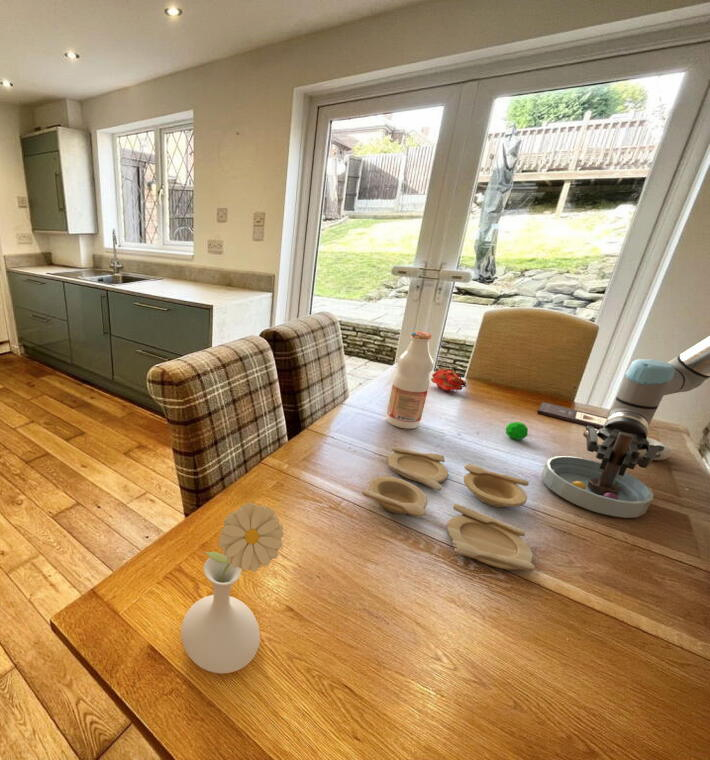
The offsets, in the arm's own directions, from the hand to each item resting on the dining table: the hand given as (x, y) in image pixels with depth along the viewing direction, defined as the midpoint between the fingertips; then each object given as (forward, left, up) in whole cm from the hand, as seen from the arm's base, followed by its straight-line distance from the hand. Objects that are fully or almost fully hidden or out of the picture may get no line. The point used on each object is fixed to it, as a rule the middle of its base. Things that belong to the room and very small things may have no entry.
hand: (613, 466), depth 82 cm
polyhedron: (+20, -20, -10) cm, 30 cm away
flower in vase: (+31, +83, -10) cm, 89 cm away
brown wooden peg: (0, -5, -8) cm, 10 cm away
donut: (-4, -37, -10) cm, 39 cm away
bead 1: (+4, -1, -8) cm, 8 cm away
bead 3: (-1, -9, -8) cm, 12 cm away
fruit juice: (+45, -5, -10) cm, 46 cm away
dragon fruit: (+46, -43, -10) cm, 64 cm away
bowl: (+2, -3, -10) cm, 10 cm away
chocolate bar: (+11, -50, -10) cm, 52 cm away
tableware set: (+22, +25, -10) cm, 34 cm away
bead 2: (-2, -1, -8) cm, 8 cm away
